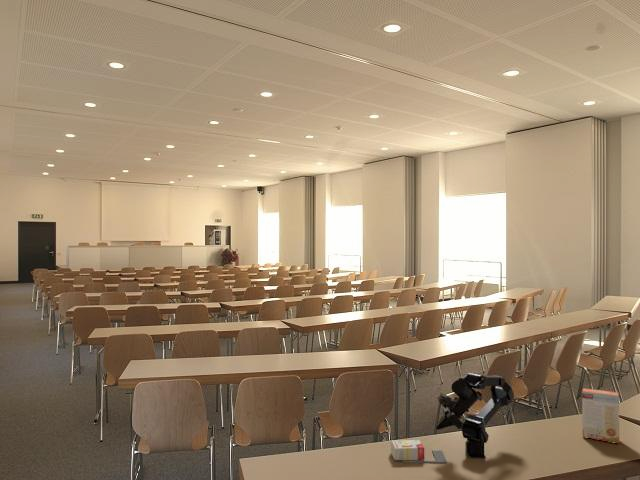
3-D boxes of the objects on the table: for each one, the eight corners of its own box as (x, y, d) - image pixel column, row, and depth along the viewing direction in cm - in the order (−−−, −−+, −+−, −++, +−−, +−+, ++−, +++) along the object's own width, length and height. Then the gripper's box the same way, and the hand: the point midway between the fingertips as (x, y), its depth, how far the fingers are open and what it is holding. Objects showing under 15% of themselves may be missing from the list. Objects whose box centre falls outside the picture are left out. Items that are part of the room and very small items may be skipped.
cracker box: (619, 440, 217) (619, 392, 217) (619, 445, 212) (618, 395, 212) (583, 433, 224) (583, 387, 224) (582, 438, 219) (581, 390, 219)
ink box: (424, 447, 195) (394, 448, 194) (424, 460, 195) (394, 461, 194) (419, 439, 203) (390, 439, 203) (419, 451, 203) (390, 452, 203)
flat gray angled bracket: (442, 451, 204) (442, 450, 204) (447, 463, 193) (447, 462, 193) (400, 450, 205) (400, 449, 205) (403, 462, 194) (403, 461, 194)
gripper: (446, 380, 209) (419, 406, 210) (454, 393, 190) (424, 421, 191) (465, 400, 208) (438, 426, 209) (475, 415, 189) (445, 443, 190)
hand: (436, 428), depth 200 cm, fingers closed
